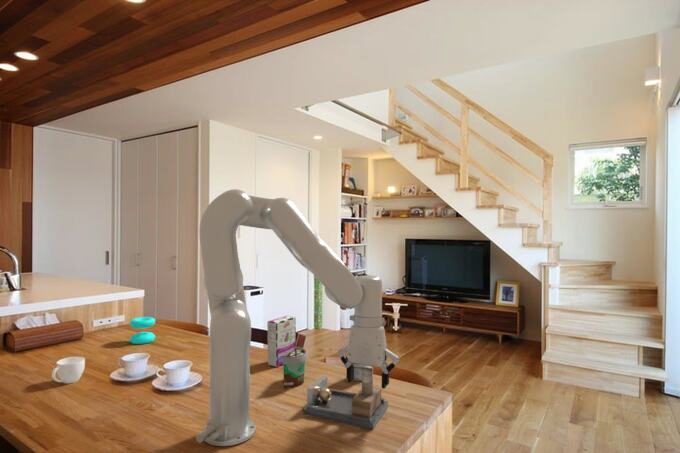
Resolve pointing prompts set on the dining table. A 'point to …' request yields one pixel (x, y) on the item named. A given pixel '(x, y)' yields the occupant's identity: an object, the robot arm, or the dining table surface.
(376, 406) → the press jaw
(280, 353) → the candy bar box
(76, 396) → the dining table surface
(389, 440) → the dining table surface
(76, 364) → the cup
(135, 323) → the donuts
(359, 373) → the energy drink can
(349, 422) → the grey tray
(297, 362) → the food container
